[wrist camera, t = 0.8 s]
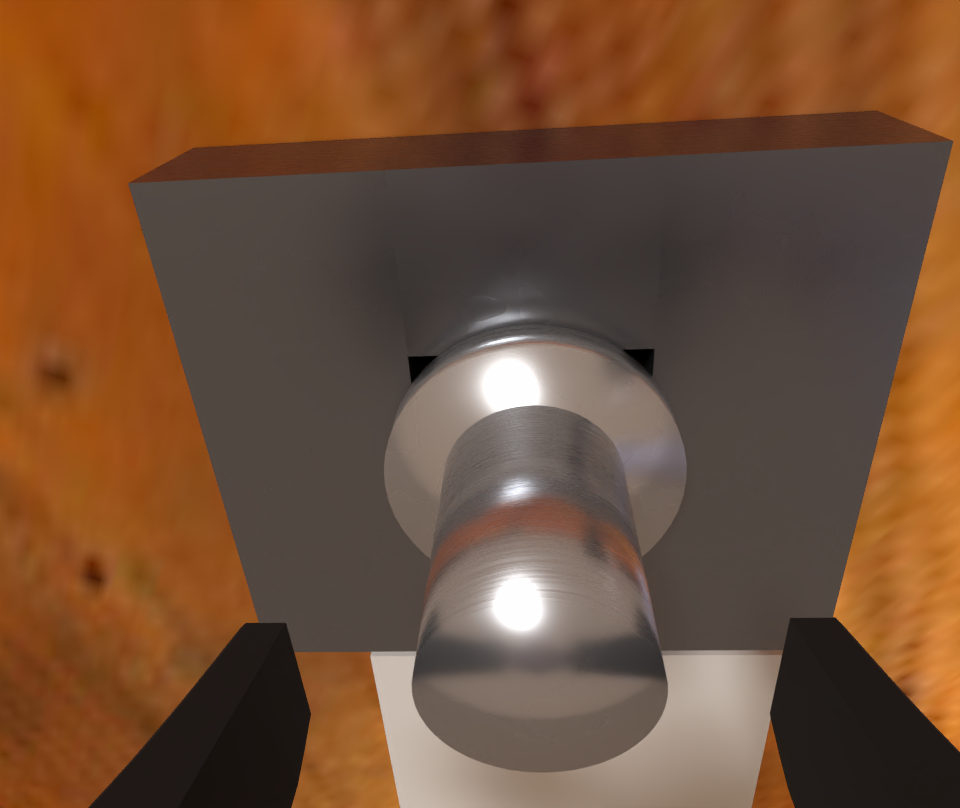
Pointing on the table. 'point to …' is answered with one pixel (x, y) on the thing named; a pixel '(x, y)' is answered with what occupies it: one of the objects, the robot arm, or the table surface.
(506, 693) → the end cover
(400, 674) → the mat
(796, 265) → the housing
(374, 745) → the table surface
